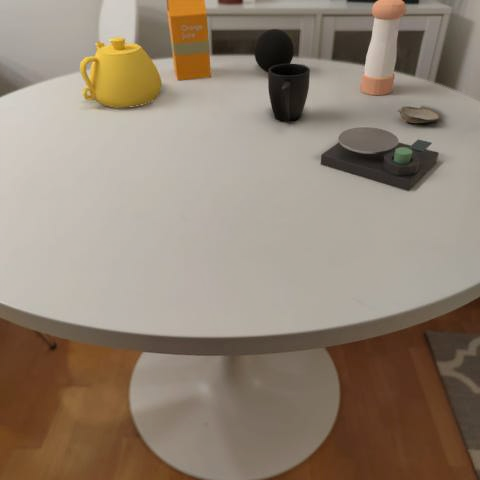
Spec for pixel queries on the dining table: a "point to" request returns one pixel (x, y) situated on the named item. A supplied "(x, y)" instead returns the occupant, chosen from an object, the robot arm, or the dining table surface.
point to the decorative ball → (273, 49)
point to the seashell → (417, 115)
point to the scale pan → (374, 141)
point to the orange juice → (189, 38)
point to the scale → (381, 165)
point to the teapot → (120, 75)
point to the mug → (288, 90)
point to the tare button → (403, 155)
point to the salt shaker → (382, 47)
